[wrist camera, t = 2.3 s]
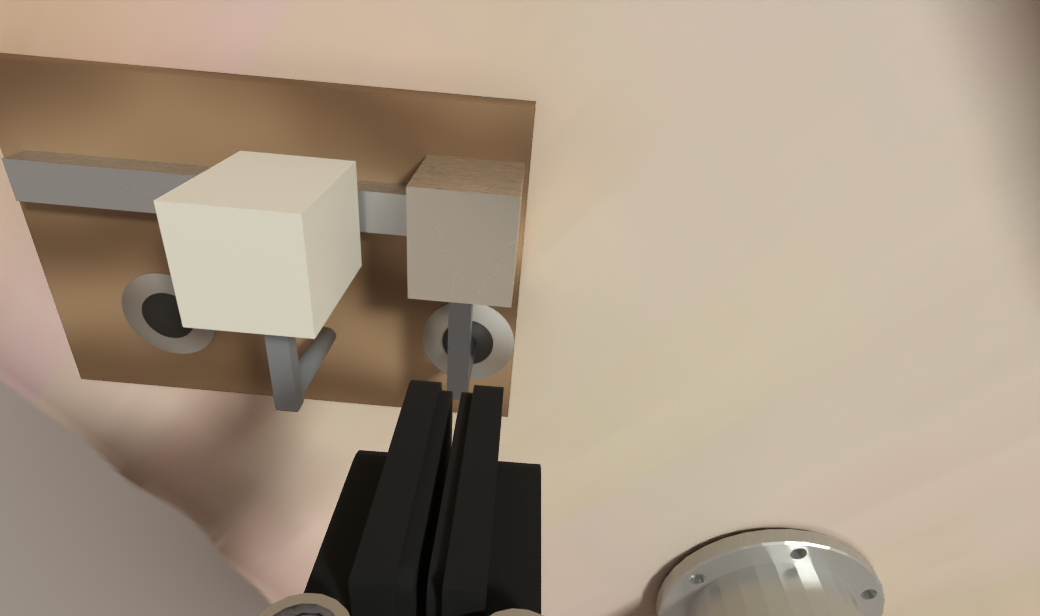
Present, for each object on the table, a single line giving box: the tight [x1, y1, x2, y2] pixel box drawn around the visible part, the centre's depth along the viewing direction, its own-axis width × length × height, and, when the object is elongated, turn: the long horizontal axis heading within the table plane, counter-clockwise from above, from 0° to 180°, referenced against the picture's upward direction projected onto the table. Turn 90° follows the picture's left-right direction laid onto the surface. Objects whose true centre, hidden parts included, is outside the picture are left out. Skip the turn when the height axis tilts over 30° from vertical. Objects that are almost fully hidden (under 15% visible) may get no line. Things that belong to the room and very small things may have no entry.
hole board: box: [0, 53, 536, 417], centre depth 25 cm, size 14×20×1 cm
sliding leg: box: [154, 151, 362, 412], centre depth 21 cm, size 8×4×6 cm, turn 175°
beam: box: [2, 150, 525, 400], centre depth 22 cm, size 8×19×4 cm, turn 85°
